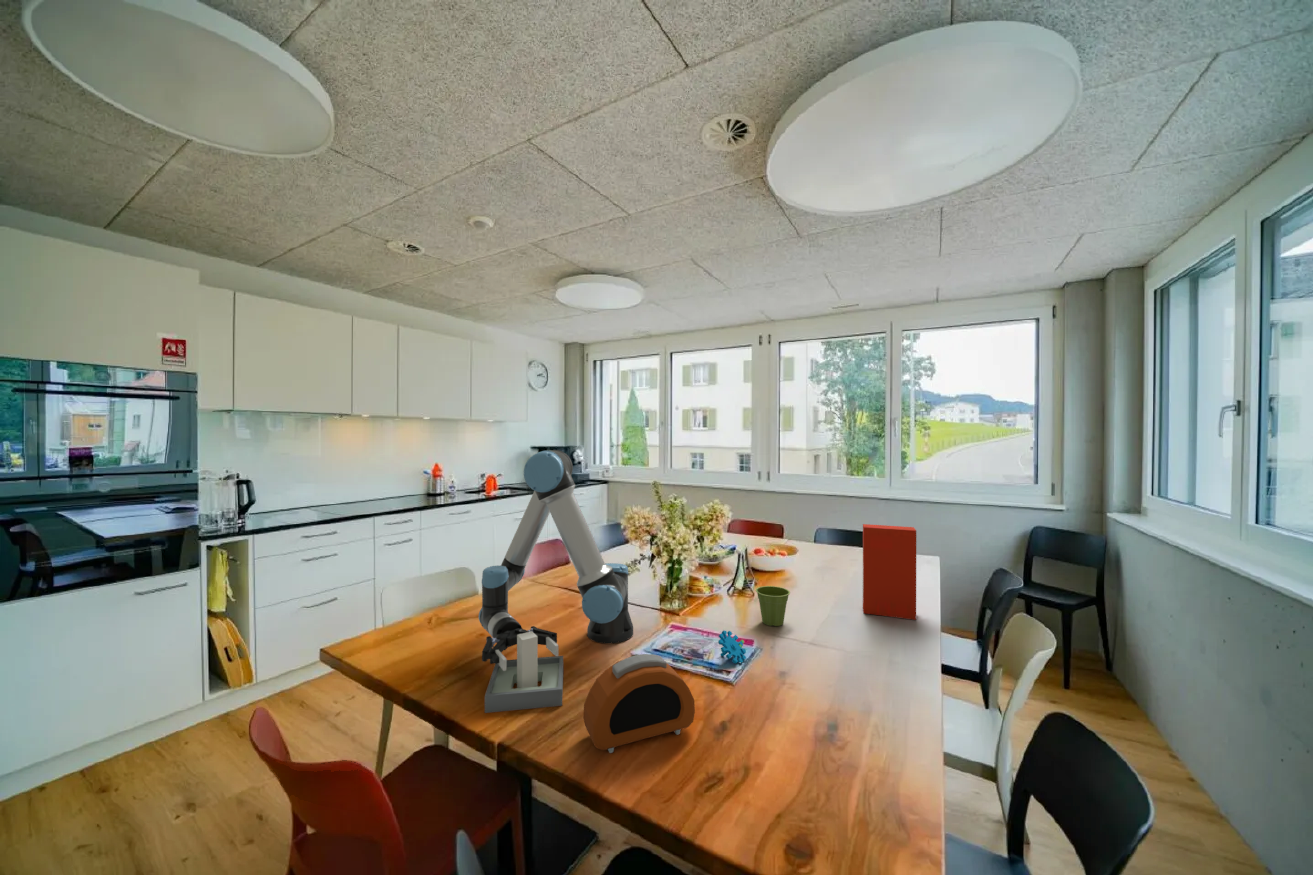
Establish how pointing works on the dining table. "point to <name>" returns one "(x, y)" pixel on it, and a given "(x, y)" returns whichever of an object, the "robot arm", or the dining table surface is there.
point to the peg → (527, 660)
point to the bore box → (546, 695)
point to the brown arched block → (637, 702)
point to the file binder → (889, 571)
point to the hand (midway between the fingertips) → (532, 657)
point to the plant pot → (772, 604)
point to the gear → (732, 647)
